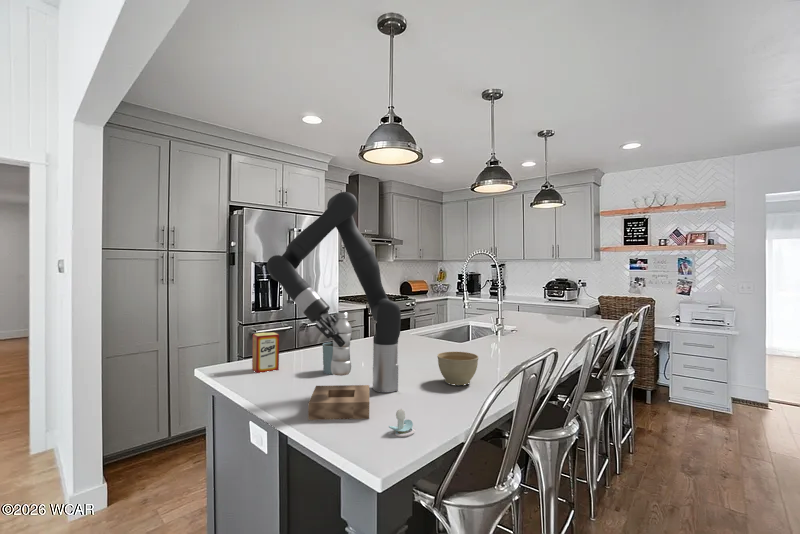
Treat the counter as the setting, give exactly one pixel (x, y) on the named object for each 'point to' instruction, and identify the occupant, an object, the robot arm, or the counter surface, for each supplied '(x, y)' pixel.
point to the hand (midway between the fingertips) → (346, 343)
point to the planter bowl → (457, 366)
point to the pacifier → (402, 425)
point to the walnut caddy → (339, 402)
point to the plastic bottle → (342, 354)
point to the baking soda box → (265, 352)
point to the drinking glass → (327, 357)
